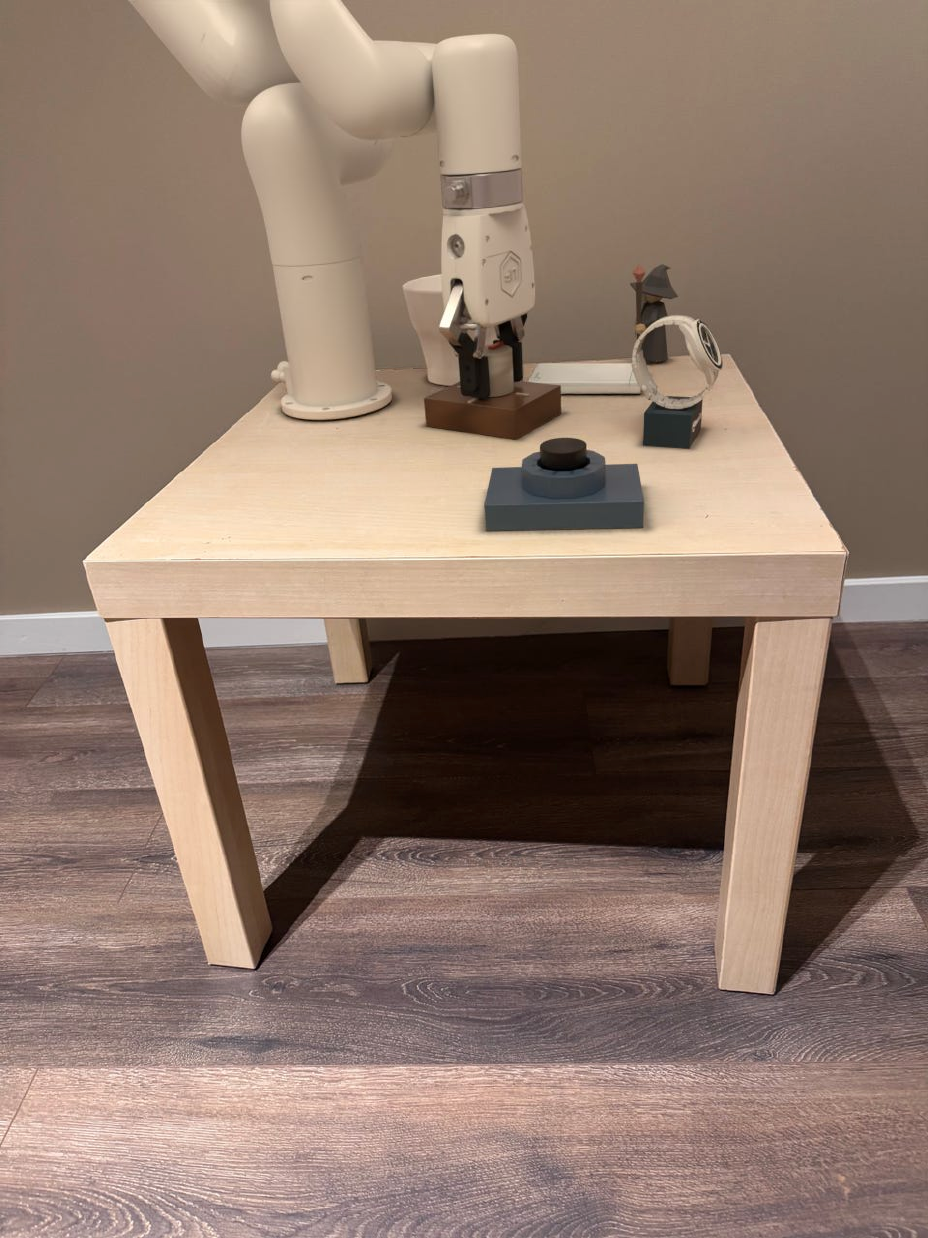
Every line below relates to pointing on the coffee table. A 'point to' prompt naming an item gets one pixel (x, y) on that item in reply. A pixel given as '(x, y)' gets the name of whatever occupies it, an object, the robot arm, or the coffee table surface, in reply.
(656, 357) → the wizard figurine
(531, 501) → the button box
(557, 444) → the button
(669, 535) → the coffee table surface
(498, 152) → the robot arm
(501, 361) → the knob
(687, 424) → the watch
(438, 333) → the cup
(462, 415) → the brown wooden block
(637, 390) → the hard drive
